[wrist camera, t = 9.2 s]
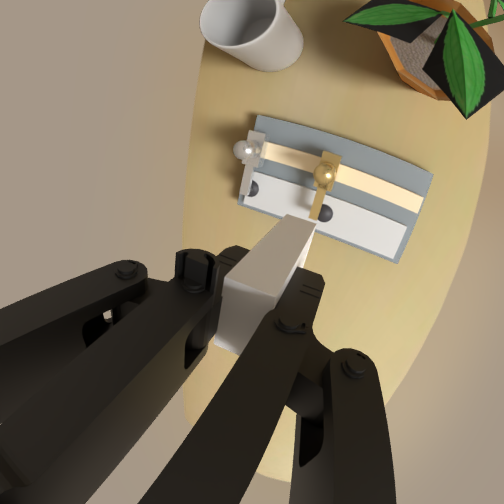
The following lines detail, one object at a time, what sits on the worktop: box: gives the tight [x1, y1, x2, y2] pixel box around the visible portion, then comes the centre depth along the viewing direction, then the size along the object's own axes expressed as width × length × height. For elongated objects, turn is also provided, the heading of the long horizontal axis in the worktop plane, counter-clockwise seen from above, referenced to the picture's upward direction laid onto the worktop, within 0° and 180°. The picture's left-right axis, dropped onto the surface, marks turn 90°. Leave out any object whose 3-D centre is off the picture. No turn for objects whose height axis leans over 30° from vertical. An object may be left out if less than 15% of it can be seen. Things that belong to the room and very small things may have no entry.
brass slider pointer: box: [308, 150, 342, 221], centre depth 28 cm, size 8×2×5 cm, turn 166°
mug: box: [199, 0, 304, 72], centre depth 22 cm, size 12×8×11 cm
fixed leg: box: [233, 130, 270, 196], centre depth 30 cm, size 8×2×5 cm, turn 166°
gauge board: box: [237, 115, 434, 264], centre depth 31 cm, size 12×22×3 cm, turn 76°
